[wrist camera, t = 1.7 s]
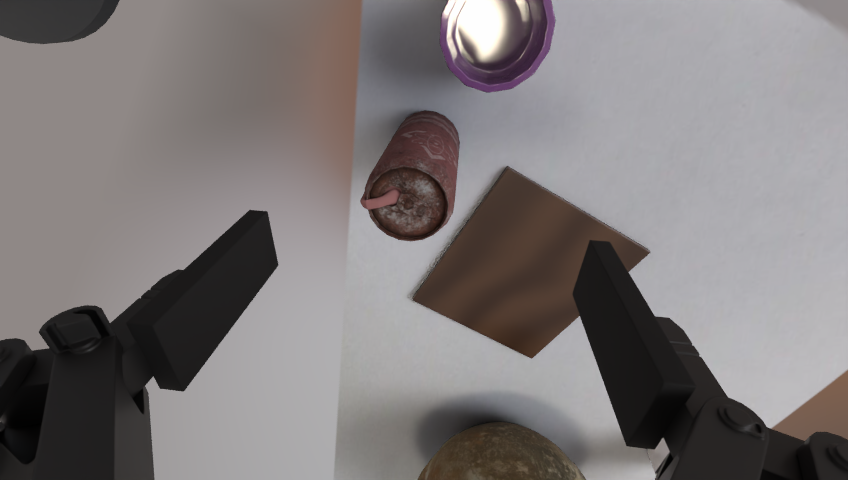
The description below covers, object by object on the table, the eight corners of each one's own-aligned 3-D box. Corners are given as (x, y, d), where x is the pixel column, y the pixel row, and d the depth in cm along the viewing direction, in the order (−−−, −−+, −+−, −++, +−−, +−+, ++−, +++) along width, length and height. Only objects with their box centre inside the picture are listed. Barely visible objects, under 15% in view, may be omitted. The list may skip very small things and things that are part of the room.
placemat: (412, 296, 47) (412, 300, 46) (507, 165, 37) (507, 168, 36) (531, 355, 50) (531, 358, 49) (648, 249, 40) (650, 252, 39)
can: (387, 116, 35) (344, 171, 23) (453, 103, 34) (444, 154, 22) (402, 176, 38) (371, 251, 26) (463, 166, 37) (460, 240, 25)
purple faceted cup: (429, 48, 32) (420, 57, 26) (478, -51, 28) (480, -67, 22) (501, 93, 33) (508, 112, 27) (558, 5, 29) (580, 4, 23)
